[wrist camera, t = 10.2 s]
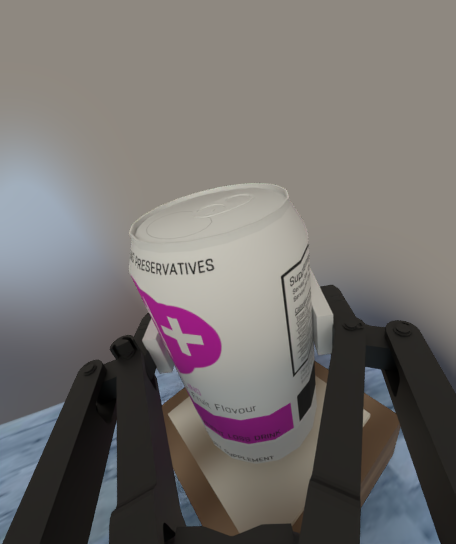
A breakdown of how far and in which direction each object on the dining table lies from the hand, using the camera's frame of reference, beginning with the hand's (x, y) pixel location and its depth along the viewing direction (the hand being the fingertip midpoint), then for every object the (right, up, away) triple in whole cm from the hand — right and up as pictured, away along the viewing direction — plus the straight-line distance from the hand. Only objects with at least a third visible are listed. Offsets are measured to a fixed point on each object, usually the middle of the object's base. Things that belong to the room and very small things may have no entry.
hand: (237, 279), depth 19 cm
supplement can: (+2, -9, 0) cm, 9 cm away
